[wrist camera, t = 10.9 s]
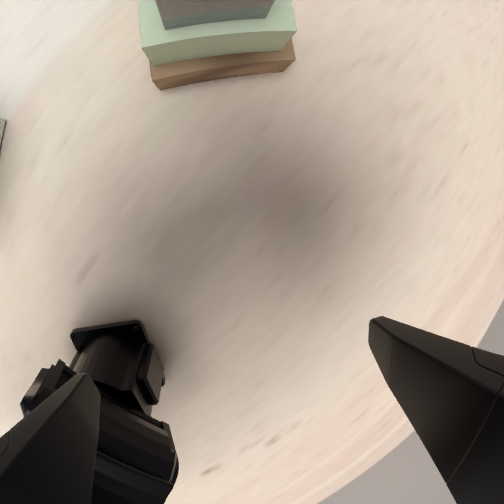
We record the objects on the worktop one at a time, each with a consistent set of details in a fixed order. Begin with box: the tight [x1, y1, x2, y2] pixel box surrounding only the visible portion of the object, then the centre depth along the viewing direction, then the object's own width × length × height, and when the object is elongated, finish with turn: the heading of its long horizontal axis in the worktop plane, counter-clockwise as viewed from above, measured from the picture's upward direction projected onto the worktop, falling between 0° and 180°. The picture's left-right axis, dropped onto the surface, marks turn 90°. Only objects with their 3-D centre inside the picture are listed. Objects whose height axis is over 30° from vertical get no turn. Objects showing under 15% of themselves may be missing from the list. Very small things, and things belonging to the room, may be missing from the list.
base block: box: [149, 39, 296, 90], centre depth 15 cm, size 8×8×4 cm
